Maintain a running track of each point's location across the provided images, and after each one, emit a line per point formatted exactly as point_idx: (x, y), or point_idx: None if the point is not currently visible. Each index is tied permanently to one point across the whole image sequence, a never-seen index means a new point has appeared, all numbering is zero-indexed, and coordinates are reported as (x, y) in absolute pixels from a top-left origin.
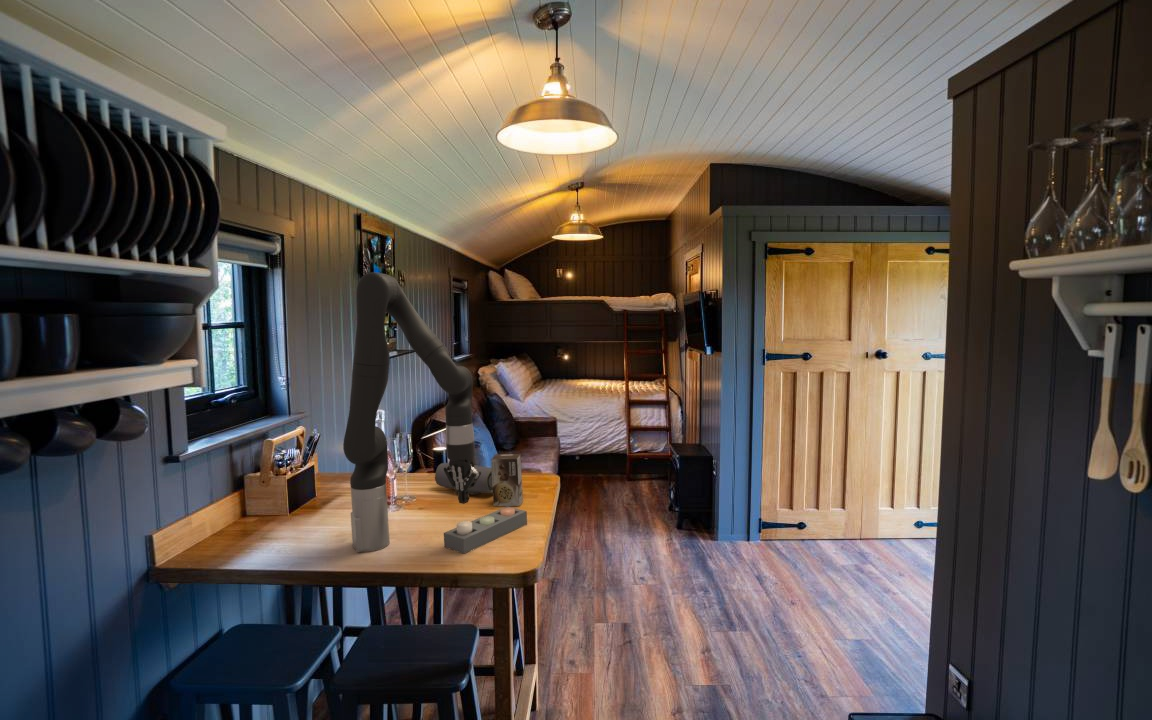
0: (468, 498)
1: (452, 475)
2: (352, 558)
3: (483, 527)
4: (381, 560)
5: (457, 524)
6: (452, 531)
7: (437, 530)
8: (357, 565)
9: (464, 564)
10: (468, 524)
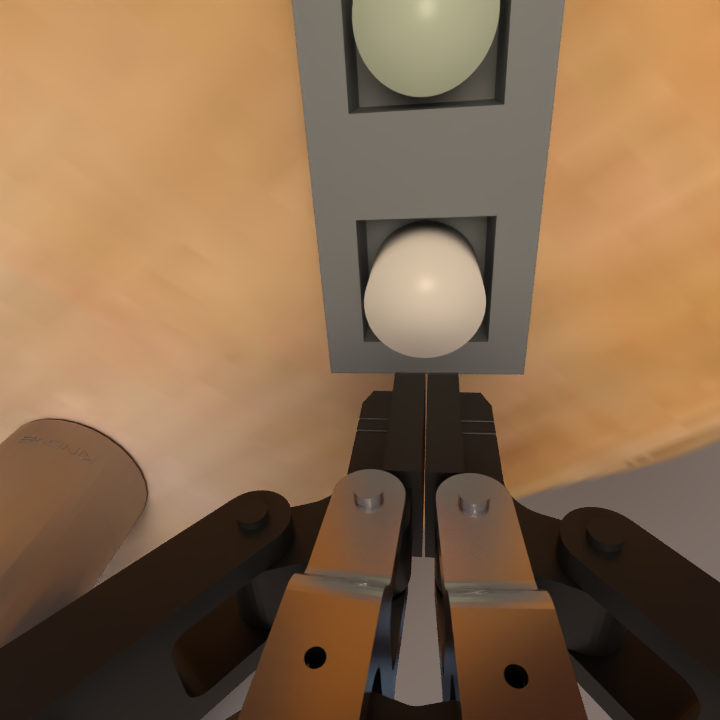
0: (491, 418)
1: (160, 713)
2: None
3: (499, 147)
4: None
5: (384, 335)
6: (358, 330)
7: (91, 196)
8: None
9: (601, 405)
10: (460, 294)
